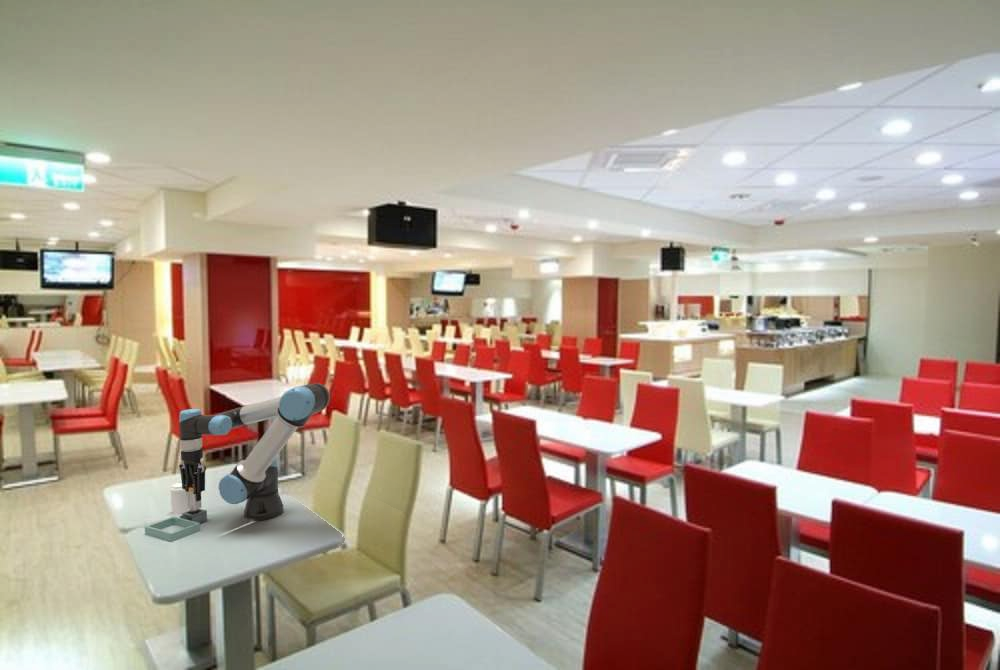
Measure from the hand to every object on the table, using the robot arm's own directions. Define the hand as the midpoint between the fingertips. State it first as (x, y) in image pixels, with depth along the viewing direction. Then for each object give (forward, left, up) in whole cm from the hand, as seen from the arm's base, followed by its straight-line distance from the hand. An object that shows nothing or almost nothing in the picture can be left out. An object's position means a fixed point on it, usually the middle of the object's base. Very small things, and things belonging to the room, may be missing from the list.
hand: (194, 507), depth 212 cm
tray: (-2, +10, -7) cm, 12 cm away
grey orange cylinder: (0, 0, -6) cm, 6 cm away
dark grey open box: (+2, 0, -7) cm, 7 cm away
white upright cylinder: (+17, -6, -7) cm, 19 cm away
